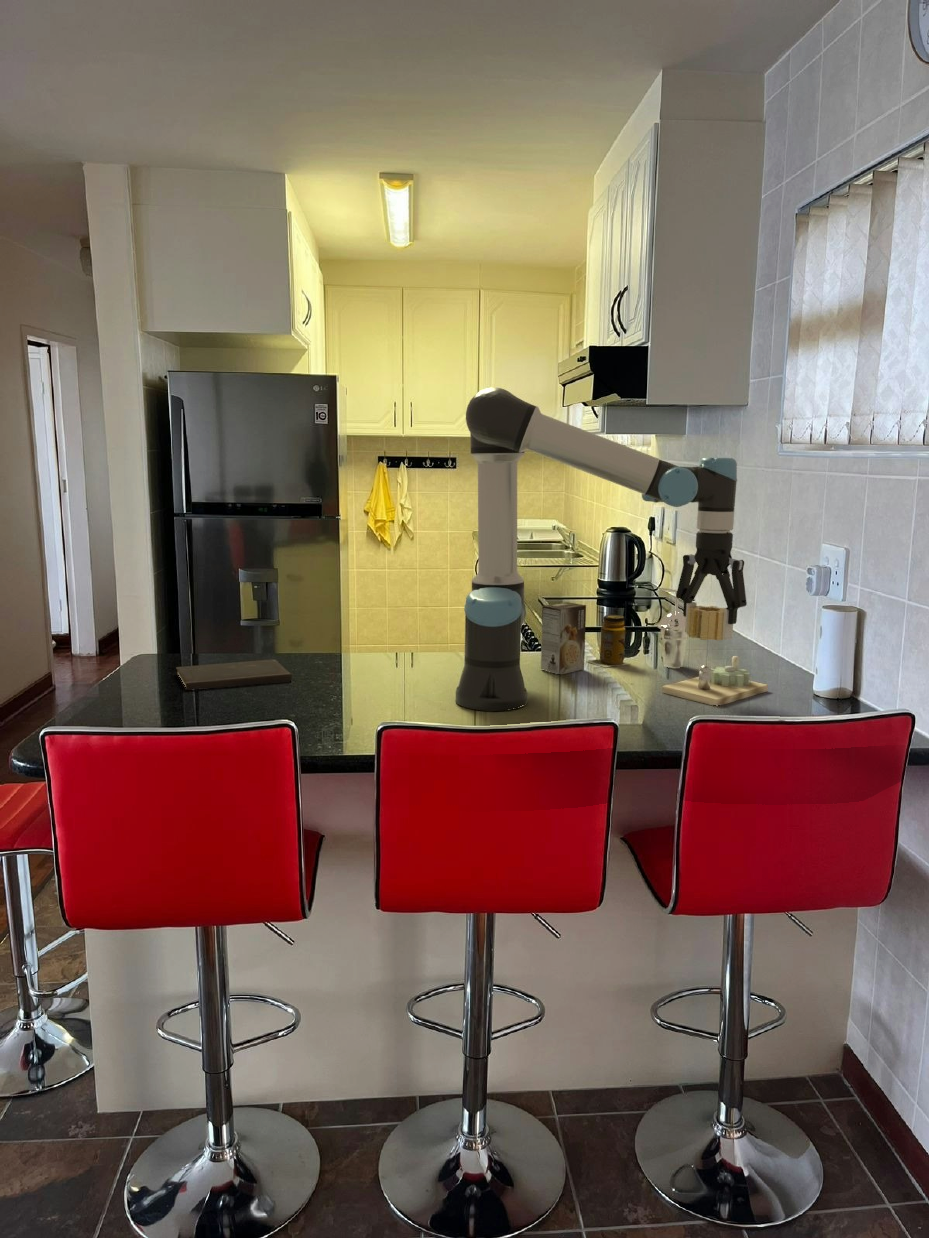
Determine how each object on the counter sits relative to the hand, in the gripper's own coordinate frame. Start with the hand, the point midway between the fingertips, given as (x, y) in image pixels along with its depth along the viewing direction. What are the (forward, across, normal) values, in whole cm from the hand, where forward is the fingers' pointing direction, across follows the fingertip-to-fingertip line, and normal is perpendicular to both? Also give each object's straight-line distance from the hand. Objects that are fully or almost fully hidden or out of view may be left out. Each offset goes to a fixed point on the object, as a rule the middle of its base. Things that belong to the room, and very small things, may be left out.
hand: (708, 635), depth 196 cm
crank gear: (+12, 0, -10) cm, 15 cm away
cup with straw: (+14, +21, -17) cm, 31 cm away
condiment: (+14, +33, -7) cm, 37 cm away
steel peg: (+12, 0, 0) cm, 12 cm away
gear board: (+13, 0, -4) cm, 14 cm away
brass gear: (0, 0, 0) cm, 0 cm away
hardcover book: (+14, +76, +74) cm, 107 cm away
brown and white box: (+14, +35, +8) cm, 38 cm away
